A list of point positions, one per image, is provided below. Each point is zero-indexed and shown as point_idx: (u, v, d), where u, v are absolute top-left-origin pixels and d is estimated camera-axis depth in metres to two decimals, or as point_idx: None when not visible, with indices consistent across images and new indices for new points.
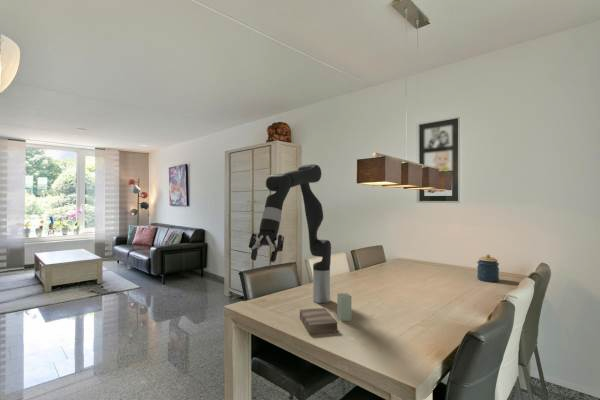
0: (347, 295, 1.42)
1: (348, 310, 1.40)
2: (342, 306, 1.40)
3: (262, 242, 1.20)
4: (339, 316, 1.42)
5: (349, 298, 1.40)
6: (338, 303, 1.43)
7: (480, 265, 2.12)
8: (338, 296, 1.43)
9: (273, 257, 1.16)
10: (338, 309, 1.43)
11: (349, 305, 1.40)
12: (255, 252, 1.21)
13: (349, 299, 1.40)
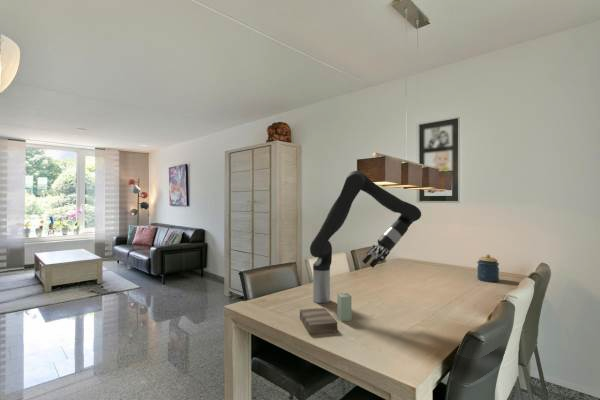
0: (347, 295, 1.42)
1: (348, 310, 1.40)
2: (342, 306, 1.40)
3: None
4: (339, 316, 1.42)
5: (349, 298, 1.40)
6: (338, 303, 1.43)
7: (480, 265, 2.12)
8: (338, 296, 1.43)
9: None
10: (338, 309, 1.43)
11: (349, 305, 1.40)
12: None
13: (349, 299, 1.40)
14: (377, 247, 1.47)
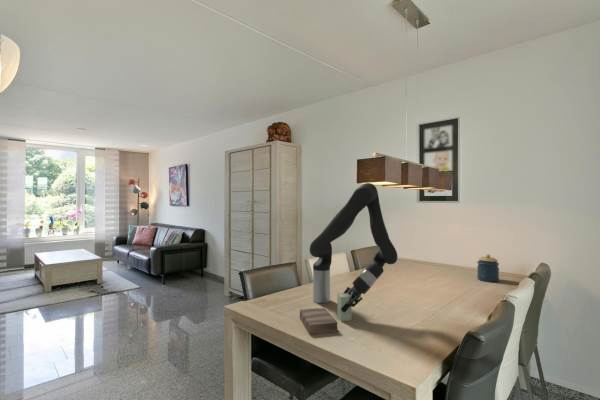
0: (347, 295, 1.42)
1: (348, 310, 1.40)
2: (342, 306, 1.40)
3: None
4: (339, 316, 1.42)
5: None
6: (338, 303, 1.43)
7: (480, 265, 2.12)
8: (338, 296, 1.43)
9: None
10: (338, 309, 1.43)
11: None
12: None
13: None
14: (352, 289, 1.44)
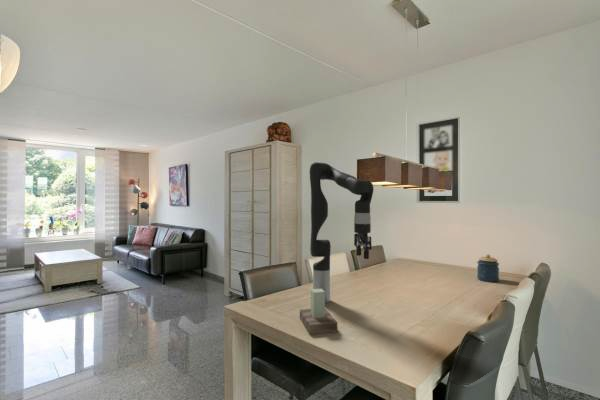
0: (320, 291, 1.35)
1: (321, 306, 1.33)
2: (315, 302, 1.33)
3: None
4: (312, 313, 1.35)
5: (322, 294, 1.34)
6: (311, 299, 1.36)
7: (480, 265, 2.12)
8: (311, 292, 1.36)
9: None
10: (311, 305, 1.36)
11: (322, 301, 1.34)
12: None
13: (322, 295, 1.34)
14: (358, 237, 1.45)
